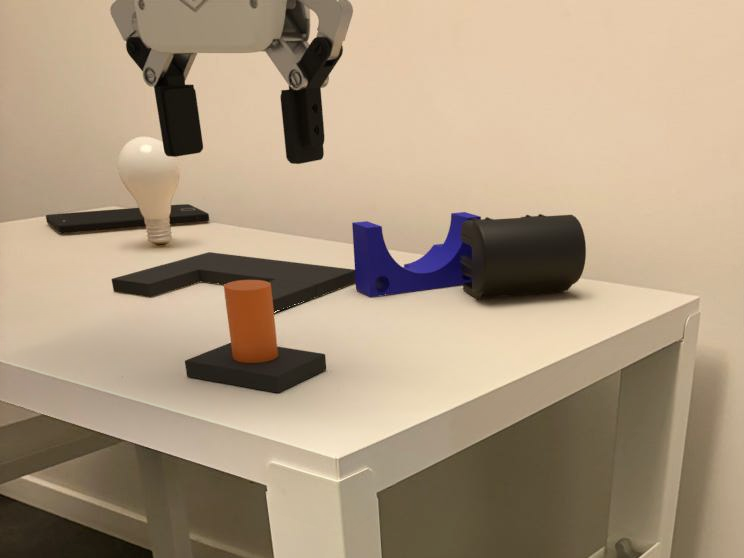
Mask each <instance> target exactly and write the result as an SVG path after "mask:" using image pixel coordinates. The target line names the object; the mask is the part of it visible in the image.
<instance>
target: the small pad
mask: <svg viewBox="0 0 744 558" xmlns="http://www.w3.org/2000/svg"><path fill="white" fill-rule="evenodd" d="M223 291H224V299H225V306H226V307H225V308H226V314H227V322H228V330H229V338H230V342H229V343H225V344H223V345H221V346H219V347H216V348H214V349H211V350H208V351H205V352H203V353H200V354H198V355H196V356H193V357H190V358H188V359H186V360H184V365H185V366H184V367H185V372H186V376H187V377H188V378H193V379H198V380H204V381H210V382H215V383H221V384H227V385H231V386H232V385H233V386H238V387H244V388H248V389H255V390H259V391H266V392H271V393H276V394H279V393H281V392H283V391H285V390H288V389H289V388H291V387H294V386H296V385H298V384H300V383H302V382H304V381H306V380H308V379H310V378H312V377H315V376H316V375H318V374H321V373H323V372H325V371H326V370H327V360H326V354H325V353H321V352H315V351H309V350H304V349H303V350H302V349H296V348H290V347H284V346H278V339H277V329H276V321H275V313H274V310H273V300H272V290H271V284H270V283H269V282H266V281H262V280H239V281H233V282H229V283H227V284H225V285H223Z"/></svg>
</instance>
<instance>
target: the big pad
mask: <svg viewBox="0 0 744 558" xmlns="http://www.w3.org/2000/svg"><path fill="white" fill-rule="evenodd" d="M239 280H262V281H266V282H269V283H270V284H271V290H272V300H273V310H274V312H275V311H277V310H281V309H283V308H287V307H289V306H292V305H294V304H298V303H301V302H303V301H306V302H308V301H307V300H309V299H311V298H314V297H316V298H318V297H317V296H319V297H322V296H324V295H323V294H325V295H327V294H329V293H328V292H330V293H332V292H331V291H333V292H335V291H338V290H340V289H339V288H341V289H343V288H346V287H349V286H351V285H353V283H354V284H356V280H355V268H345V267H337V266H328V265H320V264H312V263H311V264H310V263H304V262H303V263H302V262H296V261H287V260H278V259H270V258H262V257H253V256H244V255H237V254H236V255H235V254H228V253H219V252H212V251H208V252H204V253H201V254H197V255H193V256H190V257H186V258H183V259H178V260H175V261H171V262H168V263H164V264H160V265H157V266H152V267H149V268H146V269H142V270H137V271H135V272H130V273H128V274H124V275H121V276H117V277H112V278H111V284H112V291H113V293H118V294H126V295H133V296H138V297H145V298H154V297H156V296H160V295H163V294H166V293H169V291H170V292H172V290H173V291H176V290H179V289H183V288H186V287H189V286H192V285H191V284H193V285H195V284H194V283H196V284H198V283H197V282H199V283H205V282H210V283H209V284H213V283H219V284H218V285H220V284H227V283H229V282H233V281H239ZM200 281H202V282H200ZM350 284H351V285H350ZM188 285H189V286H188ZM348 285H349V286H348ZM185 286H186V287H185ZM345 286H346V287H345ZM182 287H183V288H182ZM342 287H343V288H342ZM175 289H176V290H175ZM337 289H338V290H337ZM334 290H335V291H334ZM326 293H327V294H326ZM321 295H322V296H321ZM314 299H315V298H314ZM311 300H312V299H311ZM309 301H310V300H309ZM303 303H304V302H303ZM301 304H302V303H301ZM298 305H299V304H298ZM287 309H288V308H287Z"/></svg>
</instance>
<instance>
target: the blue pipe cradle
mask: <svg viewBox="0 0 744 558" xmlns="http://www.w3.org/2000/svg"><path fill="white" fill-rule="evenodd" d="M473 218H475V219H477V220H480V219H482V217H481V216H480V215H476V214H473V213H470V212H466V211H459V212H451V214H450V224H449V229H448V232H447V235H446V237H445V240H444V242H443V243H437V244H433V245H432V246H431V247H430V249H429V250H428V251H427V252H426V253H425V254H424V255H423V256H421V257H420V258H418V259H416V260H414V261H412V262H408V263H404V264H403V266H402V265H400V264H399V263H398V262H397V261H396V260H395V259H394V257H393V256H392V254H391V253H390V252H389V250H388V247H387V244H386V241H385V239H384V234H383V233H384V232H383V226H382V225H379V224H375V223H373V222H371V221H369V220H365V221H355V222H351V224H352V225H351V227H352V244H353V261H354V262H353V263H354V270H355V280H356V283H355V291H356V290H357V291H356V292H358V291H359V292H358V293H360V292H361V293H360V294H362V293H363V294H362V295H365V296H367V297H369V296H370V297H369V298H373V297H372V296H376V297H380V296H379V295H383V296H388V295H387V294H390V295H397V294H396V293H398V294H404V293H403V292H405V293H413V292H419V291H420V292H421V291H428V290H434V289H443V288H450V287H456V286H463V283H465V282H472V278H470V277H468V276H467V275H465V274H464V273H463V272H462V269H461V263H460V260H461V256H467V257H469V258H471V259H472V248H471V246H470V245H468V244H466V243H464V242H462V241H461V237H460V234H461V226H462V224H463V222H465V221H467V220H472V219H473ZM412 291H413V292H412ZM385 294H386V295H385Z"/></svg>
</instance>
